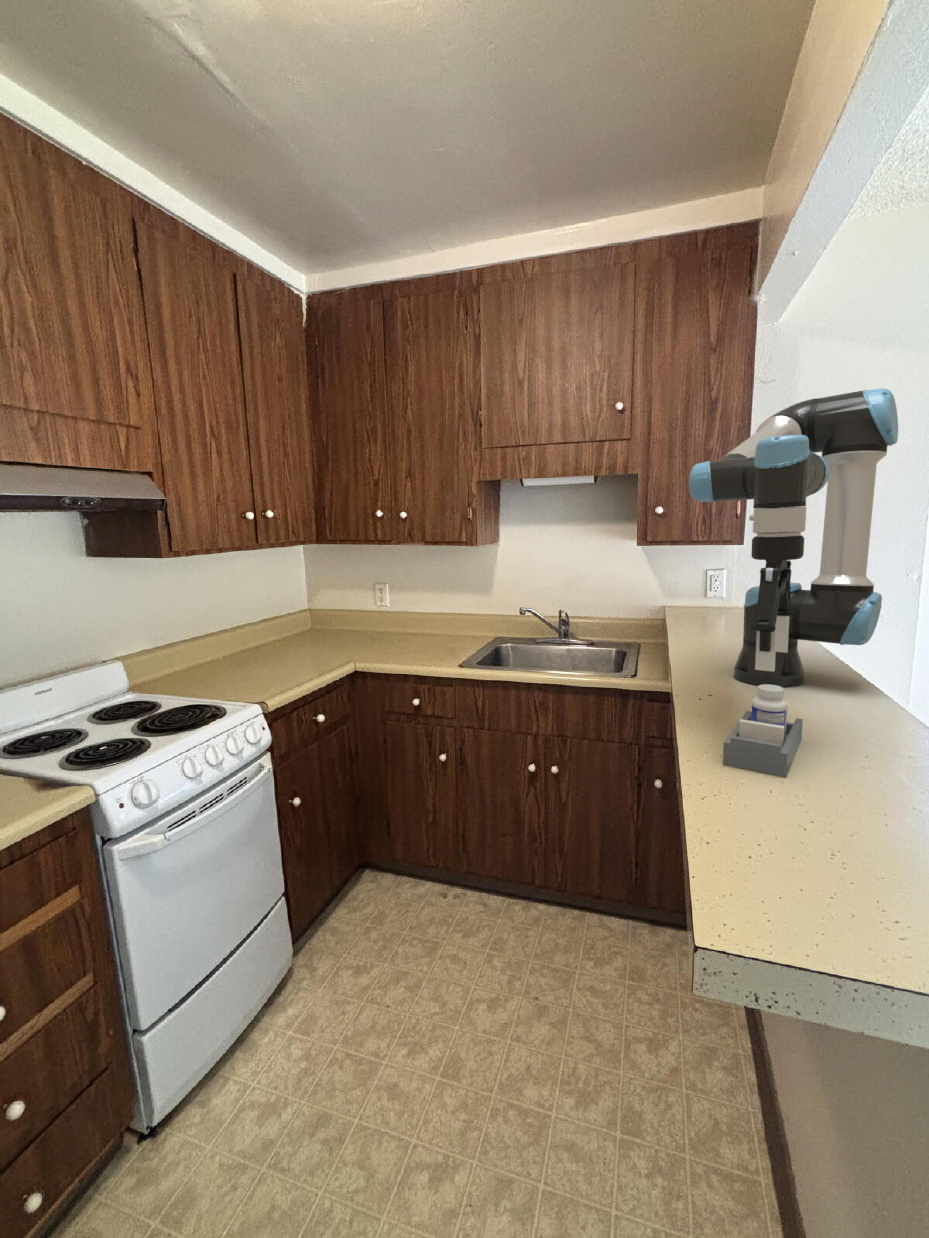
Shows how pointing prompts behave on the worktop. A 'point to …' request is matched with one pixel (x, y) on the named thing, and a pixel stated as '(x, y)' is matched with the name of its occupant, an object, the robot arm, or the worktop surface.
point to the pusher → (761, 731)
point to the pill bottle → (770, 706)
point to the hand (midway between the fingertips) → (772, 660)
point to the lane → (762, 750)
